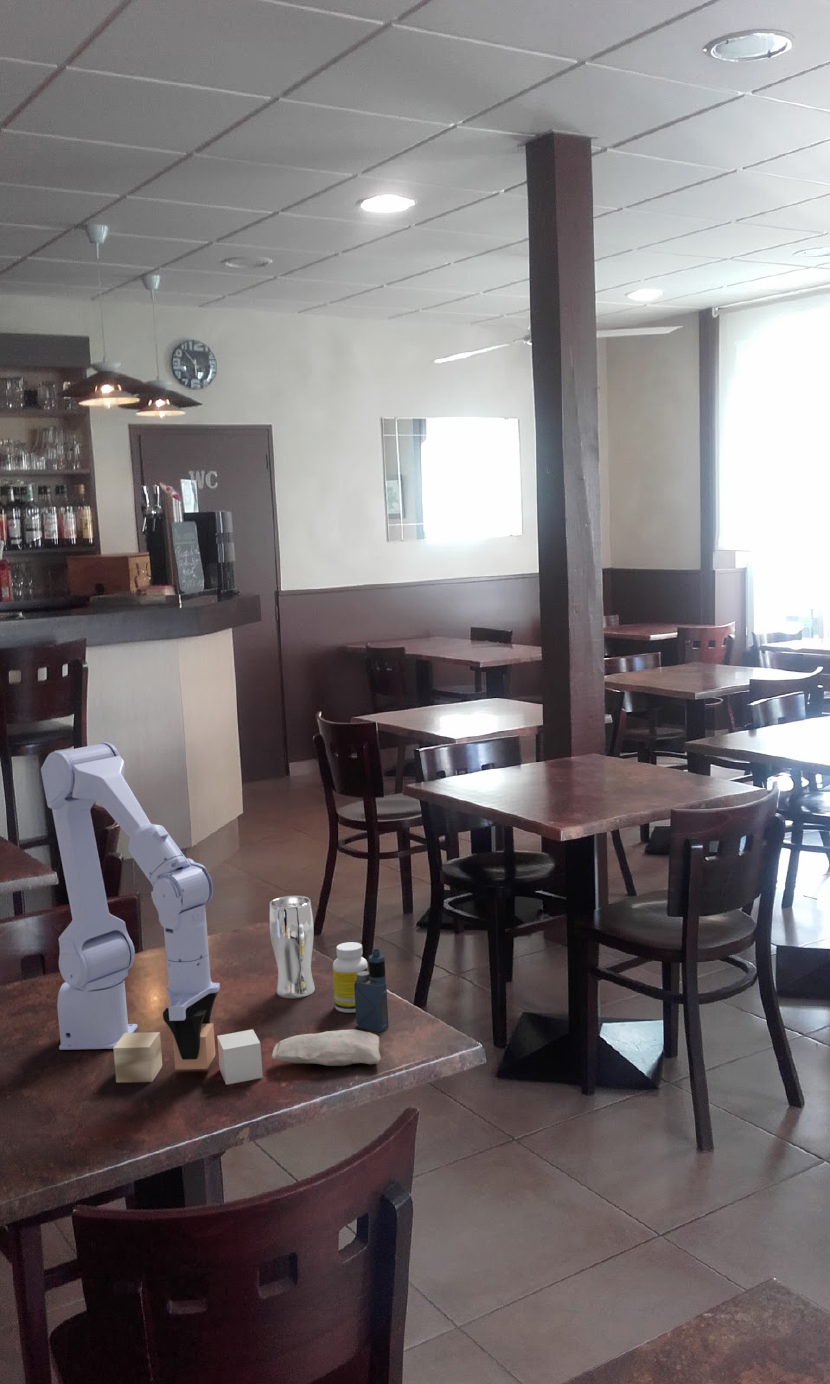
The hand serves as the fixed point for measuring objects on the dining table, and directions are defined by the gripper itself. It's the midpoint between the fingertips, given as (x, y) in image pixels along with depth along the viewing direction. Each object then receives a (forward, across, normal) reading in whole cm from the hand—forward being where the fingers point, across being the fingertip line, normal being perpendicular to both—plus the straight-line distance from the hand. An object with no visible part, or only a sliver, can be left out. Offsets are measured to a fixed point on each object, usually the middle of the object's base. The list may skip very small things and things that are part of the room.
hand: (194, 1050), depth 163 cm
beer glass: (+3, +29, -9) cm, 31 cm away
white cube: (+3, -1, -6) cm, 7 cm away
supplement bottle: (+3, +22, -19) cm, 29 cm away
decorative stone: (+4, +3, -18) cm, 18 cm away
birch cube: (+3, 0, +8) cm, 9 cm away
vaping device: (+3, +14, -23) cm, 27 cm away
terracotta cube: (+2, 0, 0) cm, 2 cm away
